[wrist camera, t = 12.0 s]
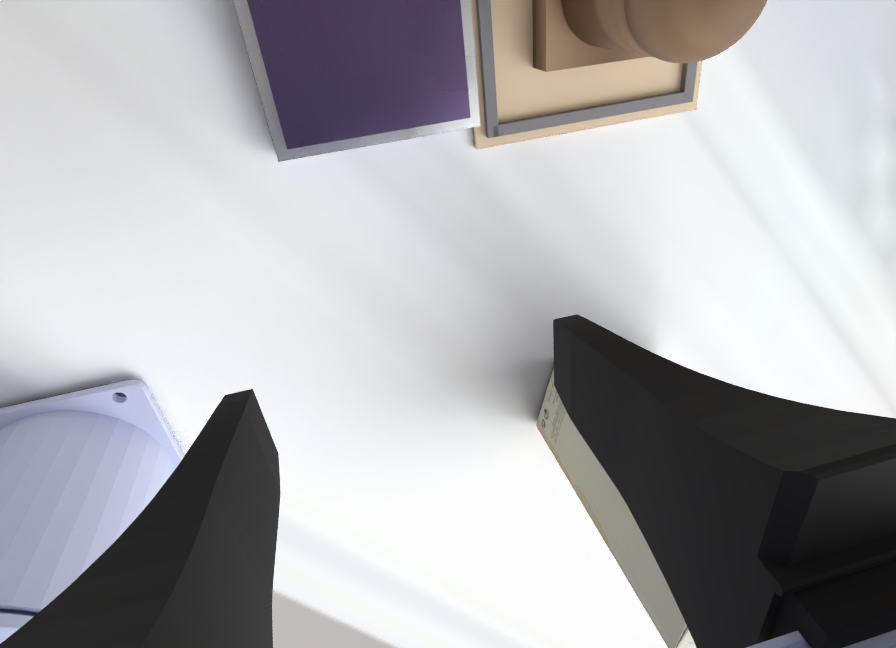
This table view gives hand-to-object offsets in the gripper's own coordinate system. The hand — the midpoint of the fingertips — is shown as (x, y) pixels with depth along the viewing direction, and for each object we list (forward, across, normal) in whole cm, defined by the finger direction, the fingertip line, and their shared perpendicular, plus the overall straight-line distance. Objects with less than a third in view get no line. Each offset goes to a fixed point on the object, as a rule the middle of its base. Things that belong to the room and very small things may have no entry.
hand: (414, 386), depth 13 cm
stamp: (+10, -9, -7) cm, 15 cm away
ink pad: (+10, -1, -7) cm, 12 cm away
